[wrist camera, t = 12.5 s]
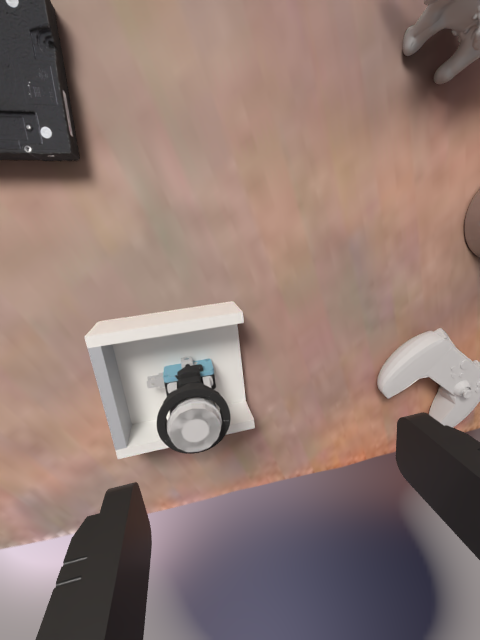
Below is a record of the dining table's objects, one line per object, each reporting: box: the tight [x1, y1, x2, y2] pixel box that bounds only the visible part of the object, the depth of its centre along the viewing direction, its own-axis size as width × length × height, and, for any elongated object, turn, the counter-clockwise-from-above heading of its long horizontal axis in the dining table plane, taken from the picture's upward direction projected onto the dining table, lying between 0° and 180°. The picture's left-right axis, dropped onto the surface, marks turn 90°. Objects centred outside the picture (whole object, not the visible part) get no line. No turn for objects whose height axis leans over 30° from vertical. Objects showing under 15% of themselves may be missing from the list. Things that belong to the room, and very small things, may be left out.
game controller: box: [377, 328, 480, 428], centre depth 36 cm, size 14×4×10 cm
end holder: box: [85, 301, 255, 459], centre depth 29 cm, size 13×12×4 cm
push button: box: [147, 356, 231, 453], centre depth 25 cm, size 7×5×10 cm
